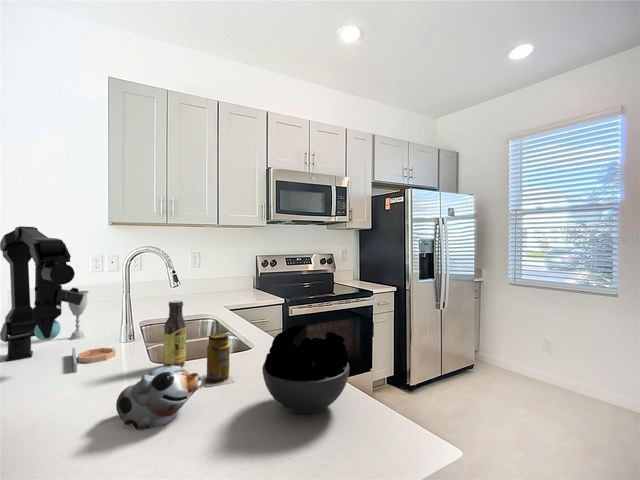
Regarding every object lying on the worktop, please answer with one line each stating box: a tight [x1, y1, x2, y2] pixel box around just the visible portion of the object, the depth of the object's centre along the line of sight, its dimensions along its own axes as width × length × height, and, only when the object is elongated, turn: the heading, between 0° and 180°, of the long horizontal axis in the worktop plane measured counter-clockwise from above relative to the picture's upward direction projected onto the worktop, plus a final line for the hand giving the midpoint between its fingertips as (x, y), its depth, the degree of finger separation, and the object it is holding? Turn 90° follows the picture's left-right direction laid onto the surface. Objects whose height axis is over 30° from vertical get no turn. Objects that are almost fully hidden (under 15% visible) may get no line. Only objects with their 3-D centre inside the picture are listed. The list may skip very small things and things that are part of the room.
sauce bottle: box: [162, 300, 187, 368], centre depth 101 cm, size 7×6×20 cm
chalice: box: [67, 290, 89, 340], centre depth 130 cm, size 7×7×18 cm
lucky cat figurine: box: [115, 366, 204, 431], centre depth 72 cm, size 15×12×14 cm
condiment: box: [202, 332, 235, 387], centre depth 92 cm, size 7×8×12 cm
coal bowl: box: [262, 324, 350, 414], centre depth 76 cm, size 20×20×19 cm
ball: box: [34, 319, 61, 341], centre depth 96 cm, size 6×6×6 cm
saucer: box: [77, 347, 116, 364], centre depth 109 cm, size 10×10×2 cm
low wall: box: [71, 347, 78, 373], centre depth 103 cm, size 18×1×2 cm, turn 38°
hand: (47, 335), depth 96 cm, fingers closed on ball, 6 cm apart
